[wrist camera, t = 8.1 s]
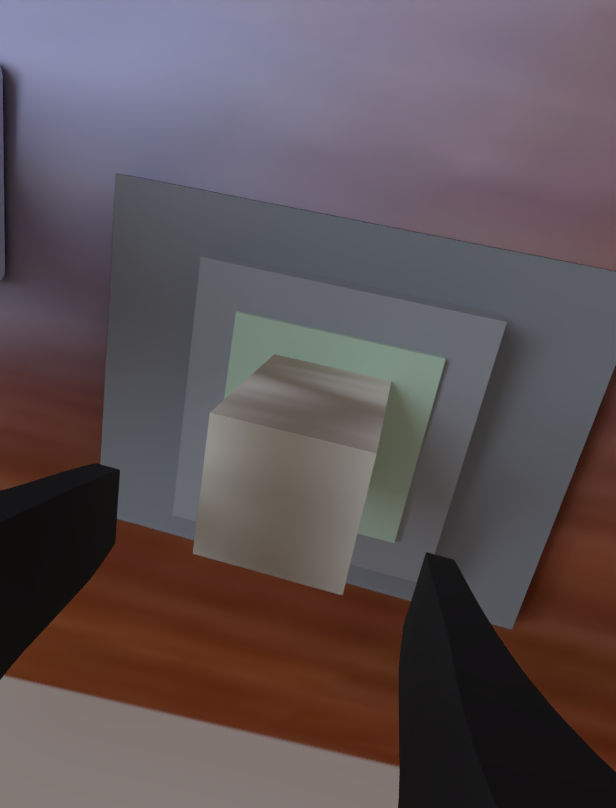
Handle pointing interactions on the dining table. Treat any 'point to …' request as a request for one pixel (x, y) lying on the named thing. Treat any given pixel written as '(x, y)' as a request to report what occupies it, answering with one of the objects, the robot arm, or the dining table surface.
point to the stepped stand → (359, 371)
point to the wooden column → (290, 471)
